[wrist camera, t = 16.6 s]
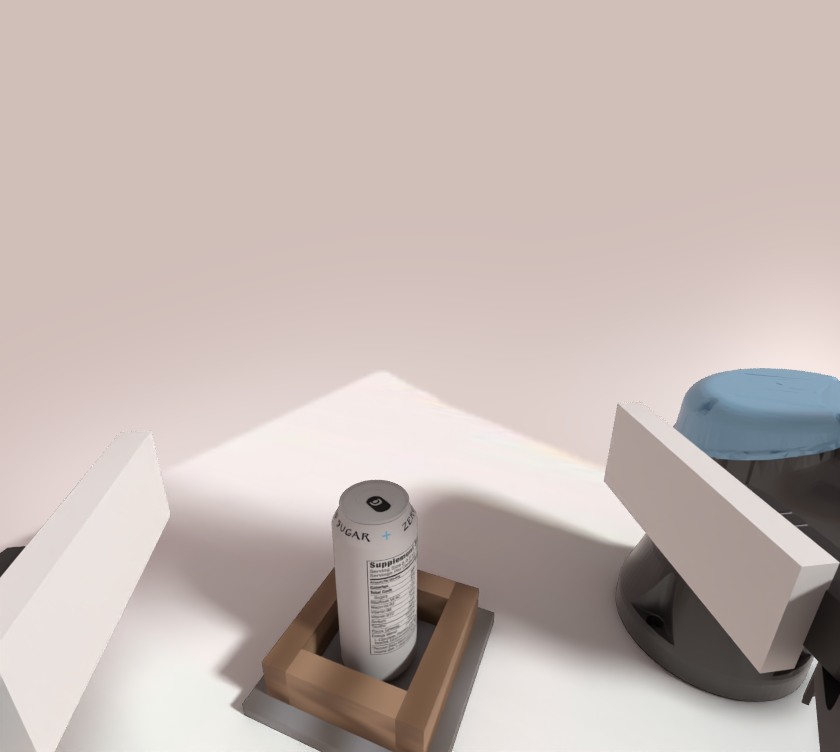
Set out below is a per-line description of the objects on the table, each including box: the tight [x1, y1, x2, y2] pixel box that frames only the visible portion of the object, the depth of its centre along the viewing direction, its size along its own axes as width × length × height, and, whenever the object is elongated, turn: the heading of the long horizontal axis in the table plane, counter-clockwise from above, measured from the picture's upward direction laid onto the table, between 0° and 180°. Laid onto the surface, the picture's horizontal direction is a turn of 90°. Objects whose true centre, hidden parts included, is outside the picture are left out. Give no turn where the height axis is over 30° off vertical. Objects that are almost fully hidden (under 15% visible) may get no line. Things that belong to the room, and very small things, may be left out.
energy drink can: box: [332, 480, 417, 682], centre depth 38 cm, size 6×6×15 cm
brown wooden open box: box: [242, 567, 494, 752], centre depth 40 cm, size 15×15×5 cm
